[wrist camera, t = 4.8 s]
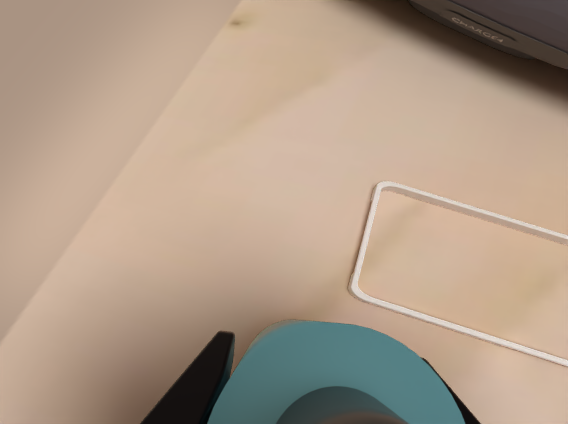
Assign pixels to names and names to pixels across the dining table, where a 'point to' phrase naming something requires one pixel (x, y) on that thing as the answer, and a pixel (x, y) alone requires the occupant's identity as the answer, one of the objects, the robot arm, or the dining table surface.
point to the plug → (332, 380)
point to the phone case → (463, 209)
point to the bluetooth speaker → (508, 25)
